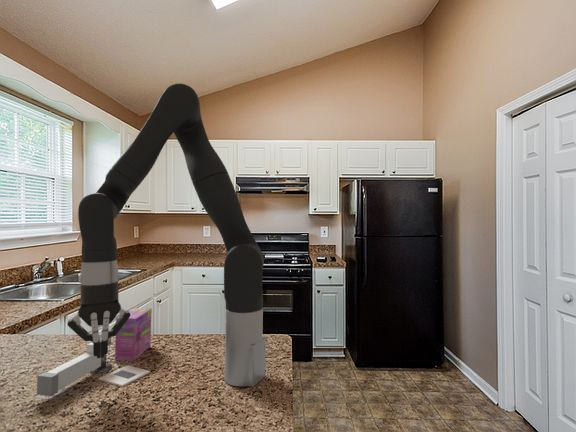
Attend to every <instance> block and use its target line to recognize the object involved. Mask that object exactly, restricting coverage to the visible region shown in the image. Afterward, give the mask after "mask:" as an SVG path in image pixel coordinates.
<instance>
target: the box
mask: <svg viewBox="0 0 576 432" xmlns="http://www.w3.org/2000/svg"><path fill="white" fill-rule="evenodd" d="M128 311H129V312H130V317H129V319H128V320H127V321H126V322H125V324H124V325H123V326H122V328H121V329H120V330H119V332H118V333H117V334H116V336H115V341H114V342H115V343H114V344H115V345H114V347H115V348H114V360H115V361H122V360H134V361H135V360H137V357H138V358H139V357H141V356H142V355H143V353H145V352H146V351H147V350H148V349H150V347H151V346H152V345H151V343H152V342H151V341H152V339H151V338H152V335H151V334H152V308H147V307H145V308H144V307H143V308H142V307H141V308H140V307H139V308H138V307H134V308H132V309H130V310H128ZM115 319H116V320H115V323H116V322H117V321H118V320H119V317H115ZM144 351H145V352H144Z"/></svg>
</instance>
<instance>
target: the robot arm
mask: <svg viewBox="0 0 576 432" xmlns="http://www.w3.org/2000/svg"><path fill="white" fill-rule="evenodd" d="M200 105H201V104H200V99H199V96H198V94H197V92H196V91H195V90H194V89H193V88H192V87H191V86H190V85H188V84H185V83H174V84H171V85H169V86H168V87H167V88H165V90H164V91H162V94H161V95H160V97H159V99H158V101H157V102H156V105H155V107H154V108H153V109H152V112H151V114H150V115H149V117H148V118H147V120H146V122H145V123H144V124H143V126H142V128H141V129H140V130H139V132H138V133H137V135H136V136H135V138H134V139H133V141H132V142H131V143H130V144H129V145H128V147H127V148H126V150H125V151H124V152H123V153H122V154H121V155H120V156H119V158H118V159H117V160H116V162H115V163H114V164H113V165H112V166H111V168H109V170H108V171H107V173H106V175H105V180H104V181H103V183H102V184H101V186H100V187H99V188H98V189H97V191H96V192H93V193H89V194H87V195H85V196H84V197H82V199H81V200H80V202H79V205H78V208H77V209H78V211H77V217H78V224H79V225H78V226H79V232H80V237H81V266H80V274H79V275H80V278H79V283H80V307H79V309H78V312H77V314H76V315H74V316H73V317H72V318H71V317H70V319H68V321H67V327H68V328H70V330H72V331H73V332H75V334H76V335H77V336H78V337H79V338H81V339H82V340H83V341H84V342H93V355H94V356H97V359H98V358H103V357H104V355H105V354H106V355H107V354H108V352H109V348H108V347H109V345H108V339H109V338H111V339H112V337H116V334H117V333H118V332H119V330H120V329H121V328H122V326H123V325H124V324H125V322H126V321H127V320H128V319H129V317H130V312H129V311H130V310H125V309H123V308H122V305H121V303H120V302H119V278H120V276H119V265H118V250H117V249H118V246H117V239H116V237H115V232H114V231H115V229H114V228H115V224H114V223H115V219H116V218H117V217H118V215H119V214H120V213H121V211H122V209H123V208H124V207H125V206H126V203H127V202H128V201H129V198H130V197H131V195H132V194H133V193H134V192H135V191H136V190H137V188H138V187H139V186H140V185H141V183H142V182H143V181H144V180H145V178H147V176H148V174H149V173H150V172H151V171H152V169H153V167H154V165H155V164H156V161H157V160H158V158H159V155H160V154H161V152H162V150H163V148H164V146H165V144H166V143H167V141H168V140H169V138H171V136H172V135H173V134H174V136H175V138H176V140H177V142H178V144H179V145H180V147H181V149H182V152H183V155H184V156H183V157H184V160H185V164H186V167H187V170H188V174H189V177H190V179H191V180H190V181H191V183H192V185H193V188H194V190H195V192H196V195H197V197H198V200H199V201H200V204H201V205H202V207H203V210H205V212H206V213H207V216H209V218H210V219H211V221H212V222H213V224H214V226H215V227H216V228H217V230H218V231H219V232H218V233H220V236H221V238H222V240H223V244H224V246H225V249H226V253H227V254H226V255H225V258H224V263H223V295H224V301H225V320H224V321H225V322H224V323H225V324H224V325H225V327H224V332H225V333H224V334H225V335H224V382H226V384H228V385H230V386H234V387H251V388H252V387H255V386H256V385H257V384H258V383H259V382H261V381H262V380H263V379H264V378H265V377H266V362H267V361H266V354H267V351H266V349H267V347H266V345H267V344H266V343H267V341H266V340H267V339H266V337H264V336H263V329H264V327H263V325H264V324H263V323H264V322H263V321H264V320H263V318H264V317H263V316H264V298H263V297H264V296H263V268H264V265H265V256H264V253H263V251H262V249H261V248H260V246H259V244H258V243H257V240H256V239H255V238H254V236H253V233H252V231H251V230H250V228H249V226H248V224H247V222H246V219H245V216H244V213H243V209H242V206H241V203H240V200H239V197H238V194H237V192H236V190H235V186H234V184H233V182H232V179H231V176H230V175H229V172H228V170H227V168H226V166H225V164H224V163H223V160H222V159H221V158H220V156H219V155H218V153H217V152H216V150H215V149H214V147H213V145H212V144H211V142H210V140H209V137H208V136H207V135H208V134H207V131H206V130H205V129H206V128H205V126H204V123H203V118H202V114H201V106H200ZM117 315H118V317H119V320H118V321H117V322H116V321H115V324H114V325H113V326H112V328H111V329H109V327H110V324H112V322H113V321H114V320H115V319H116V318H118V317H117ZM81 319H82V321H83V322H84V323H85V324H86V325H87V326H88V327H90V328H91V332H92V333H89V331H87V330H86V329H85V327H83V326H82V321H81ZM99 326H101V337H100V334H99V332H100V331H99ZM99 338H101V348H100V339H99Z"/></svg>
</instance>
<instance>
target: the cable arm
mask: <svg viewBox="0 0 576 432" xmlns="http://www.w3.org/2000/svg"><path fill="white" fill-rule="evenodd" d="M99 339H100V348H101V337H99ZM111 344H112V337H111V338H109V339H108V346H110V345H111ZM100 366H101V358H98V359H97V356H94V355H93V342H92V341H90V343H87V344H86V352H85V353H83V354H81V355H79V356H77V357H75V358H73V359H71V360H68V361H67V362H65V363H62V364H61V365H58V366H57V367H54V368H52V369H51V370H48V371H44V372H42V373H40V374H38V375H37V380H36V381H37V382H36V395H39V396H45V397H53V396H54V395H56V394H58V393H59V391H60V390H62V389H64V388H66V387H68V386H69V385H71V384H73V383H74V382H76V381H78V380H79V379H81V378H83V377H85V376H86V375H88V374H91V373H90V372H92V371H93V370H95V369H97V368H99V367H100Z"/></svg>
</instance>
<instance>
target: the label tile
mask: <svg viewBox="0 0 576 432" xmlns="http://www.w3.org/2000/svg"><path fill="white" fill-rule="evenodd" d="M150 373H151V371H150V370H147V369H143V368H139V367H136V366H132V365H129V364H127V365H125V366H123V367H120V368H118V369H116V370H114V371H112V372H108V374H105V375H103V376H101V377H99V378H98V380H99V381H102V382H105V383H108V384H112V385H114V386H119V387H121V388H123V387H125V386H127V385H129V384H131V383H133V382H135V381H136V380H138V379H140V378H142V377H144V376H146V375H148V374H150Z"/></svg>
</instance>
